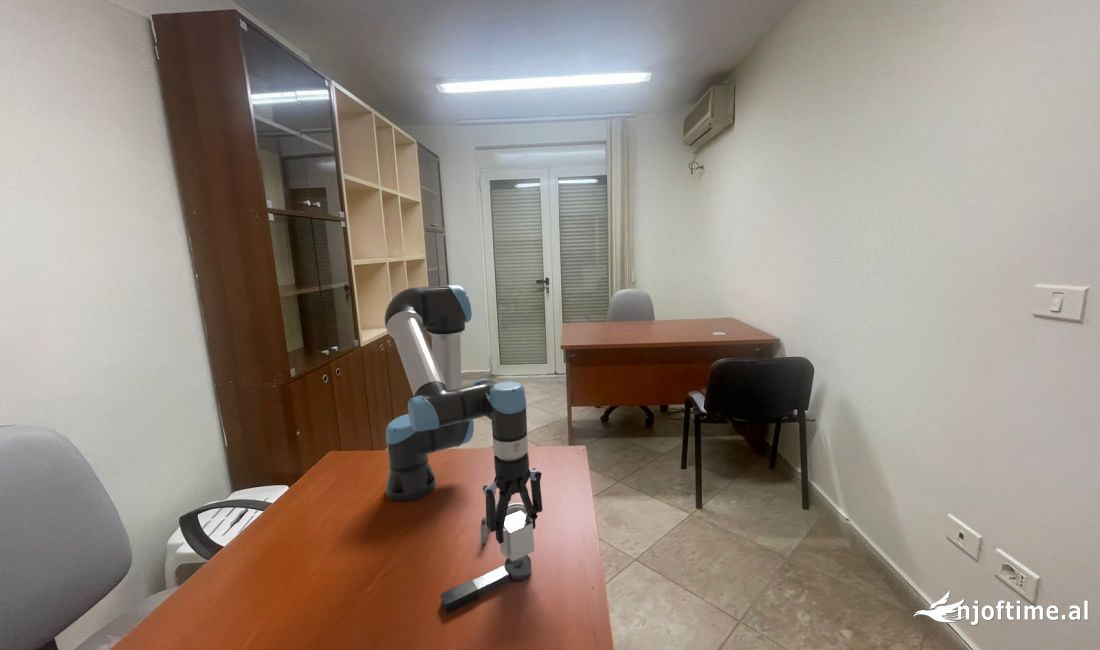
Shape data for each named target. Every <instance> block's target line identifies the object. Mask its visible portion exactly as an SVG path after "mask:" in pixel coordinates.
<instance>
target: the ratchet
mask: <svg viewBox="0 0 1100 650" xmlns="http://www.w3.org/2000/svg"><path fill="white" fill-rule="evenodd" d="M531 575H532V559H531V557H530V555H529V554H527V555H525V556H523V557H521V558H518V559H516V560H514V561H511V560H510V558H509V557H506V559H505V561H504V565H502V566H500V567H498V568H496V569H494V570H491V571H489V572H487V573H484V574H483V575H481V576H479V577H477V578H475V579H469V580H467V581H465V582H463V583H461V584H459V585H456V586H453V588H450V589H448V590H445V591H443V592H442V593H441V592H440V598H441V604H442V606H443V608H444V610H445V611H444V612H445V613H446V614H447V615H448V614H450V613H452V612H454V611H456V610H458V609H460V608H462V607H464V606H466V605H468V604H470V603H472V602H474V601H477V600H478V599H479V598H480V597H483V596H485V595H487V594H488V593H491V592H493V591H494V590H496V589H499V588H500V587H503V586H505V585H507V584H508V583H511V582H514V583H521V582H524V581H526V580H527V579H529V578H530V576H531Z"/></svg>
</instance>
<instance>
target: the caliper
mask: <svg viewBox="0 0 1100 650" xmlns="http://www.w3.org/2000/svg"><path fill="white" fill-rule="evenodd" d="M498 502H499V496H497V497H496V498H495V509H496V511H497V507H498ZM480 522H481V523H480V524H481V525H480V540H481V541H480V543H481V545H486V544H487V541H488V539H489V538H488V536H489V528H488V527H487V525H486V516H485V517H482V519H481V521H480Z"/></svg>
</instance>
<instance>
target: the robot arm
mask: <svg viewBox="0 0 1100 650" xmlns="http://www.w3.org/2000/svg"><path fill="white" fill-rule="evenodd" d="M472 312H473V311H472V307H471V302H470V299H469V296H468V294H467V291H466V290H465V289H464V288H463V286H460V285H459V284H444V285H443V284H442V285H434V286H422V287H421V286H419V287H417V286H416V287H409V288H407V289H404V290H402V291H400V292H398V294H396V295H395V296H394V297H393V298H392V299H391V300H390V302H389V303H388V305H387V308H386V309H385V313H384V314H385V315H384V326H385V329H386V332H387V333H388V335H389V337H392V338H393V340H394V343H395V345H396V348H397V352H398V354H399V357H400V360H401V363H402V366H403V370H404V371H405V372H404V373H405V374H406V378H407V381H408V383H409V386H410V389H411V392H412V395H413V397H411V398H410V399H409V400H408V402H407V411H408V413H406V414H404V415H400V416H398V417H396V418H394V419H393V420H391V421H390V422H389V423H388V424H387V426H386V428H385V437H386V438H385V442H386V445H387V446H386V447H387V454H388V455H387V456H388V464H389V472H388V477H387V481H386V483H385V492H386V497H387V498H388V499H390V500H392V501H394V502H410V501H414V500H418V499H420V498H421V499H422V498H423V497H425V496H427V495H428V494H430V493H431V492H432V491H434V489H435V488H436V486H437V477H436V474H435V472H434V471H433V468H432V466H431V464H430V461H429V457H428V456H429V454H432V453H436V452H440V451H443V450H447V449H450V448H451V449H452V448H455V447H456V448H457V447H460V446H462V445H465V444H467V443H469V442H470V441H472V439H473V436H474V432H475V431H474V430H475V422H474V420H475V419H480V418H483V417H486V418H488V419H489V420H491V429H492V444H493V445H492V446H493V454H494V457H493V458H494V459H493V461H494V473H495V477H494V480H493V483H491V484H489V485H487V484H485V485H484V486H482V490H483V493H484V495H485V517H486V525H487V527H488V530H489V531H490V532H491V533H495V540H496V541H497V543H498V544H499V548H500V552H501V553H502V555H503V556H504V558H508V556H509V553H508V538H507V529H506V528H505V527H504V524H505V519H506V516H507V513H508V509H509V504H510V502H511V500H512V496H514V495H516V494H519V497H520V498H521V501H522V504H523V506H524V509H525V511H526V513H524V514H525V516H526V517H527V518H528V519H529V520H530V521H531V522H532V523H533V530H535V529H536V520H537V518H538V513H542V512H543V501H542V500H543V498H542V489H541V480H542V472H541V471H539V470H538V469H537V468H536V467H534V468H532V469H530V457H529V442H528V441H529V440H528V423H527V397H526V394H525V393H526V392H525V386H523V384H522V383H520V382H518V381H517V382H515V381H510V380H509V381H501V382H497V381H495V380H492V379H489V378H480V379H477V380H475V382H473V383H472V384H471V385H469V386H464V387H462V386H463V385H462V381H463V380H462V355H461V354H462V352H461V351H462V350H461V334H462V333H464V331H466V323H469V322H470V321H471V320H472V315H473V314H472ZM423 328H425V331H426V333H425V331H424V330H423ZM427 333H428V334H429V335H430V336H431V346H430V344H429V342H428V339H427V337H426V335H425V334H427ZM529 480H530V489H531V498H530V494H529V490H528V487H527V483H528V482H529ZM497 489H498V490H499V491H498V495H499V496H498V497H499V502H498V507H497V510H496V509H495V501H496V497H495V496H496V495H497V493H496V490H497ZM531 500H532V501H531Z"/></svg>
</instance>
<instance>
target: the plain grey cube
mask: <svg viewBox="0 0 1100 650" xmlns="http://www.w3.org/2000/svg"><path fill="white" fill-rule="evenodd" d="M525 514H526V513H524V512H523V511H522V510H519V511H517V512H514V513H512V514H509V515H506V519H505V524H504V527H505V528H506V529H507V538H508V553H509V556H508V557H509V558H510V560H511V561H514V560H516V559H518V558H521V557H523V556H525V555H529V554H531V553H533V552H535V543H534V540H535V539H534V529H533V523H532V522H531V521H530V520H529V519H528V518H527V517H526V516H525ZM508 557H507V558H508Z"/></svg>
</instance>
